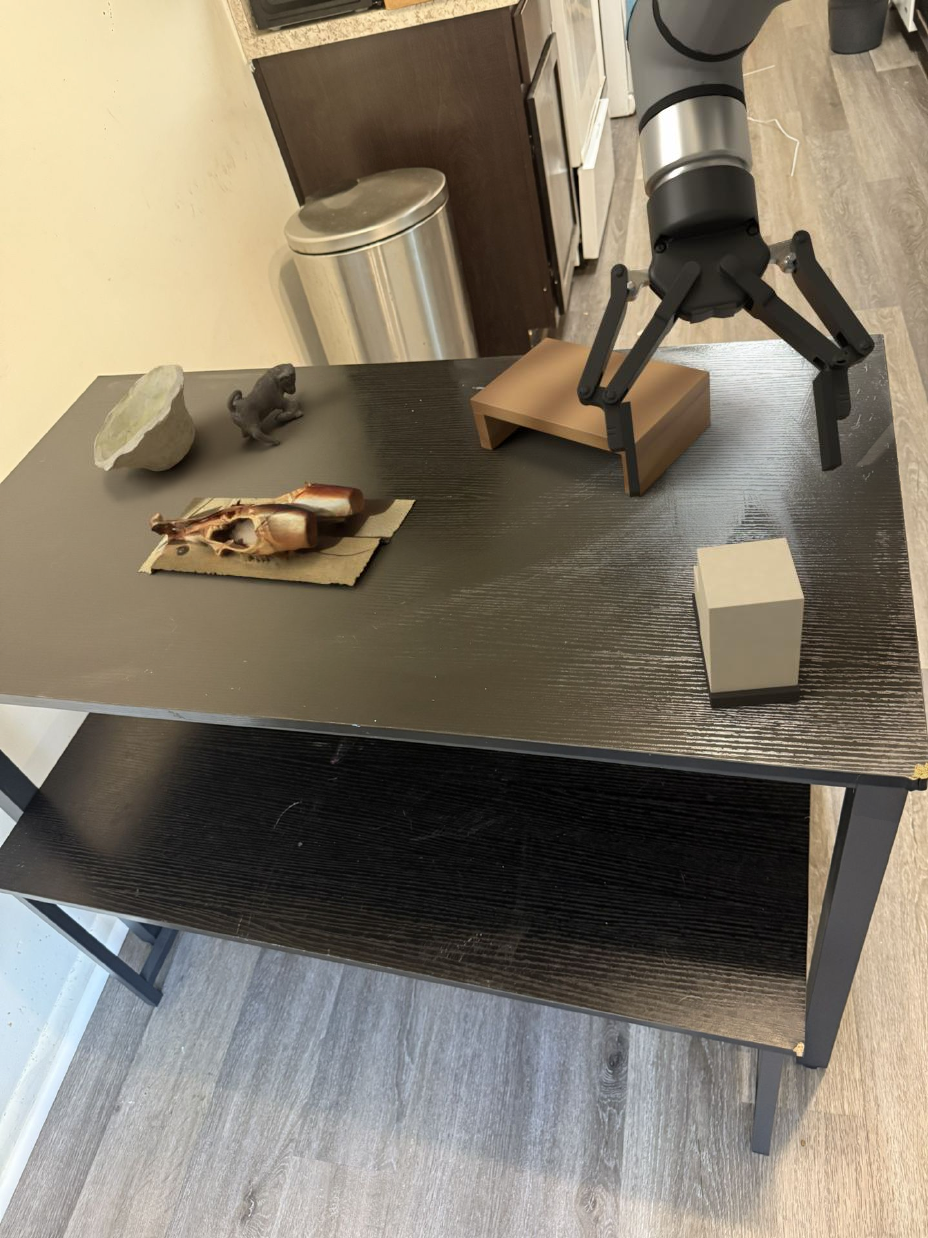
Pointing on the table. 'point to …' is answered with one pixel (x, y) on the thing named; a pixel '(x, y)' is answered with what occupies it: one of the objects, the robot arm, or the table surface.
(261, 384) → the dog figurine
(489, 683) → the table surface
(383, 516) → the ballet pointe shoes
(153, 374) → the bowl
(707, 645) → the beige block black base
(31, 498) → the table surface
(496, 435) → the shoe shelf
